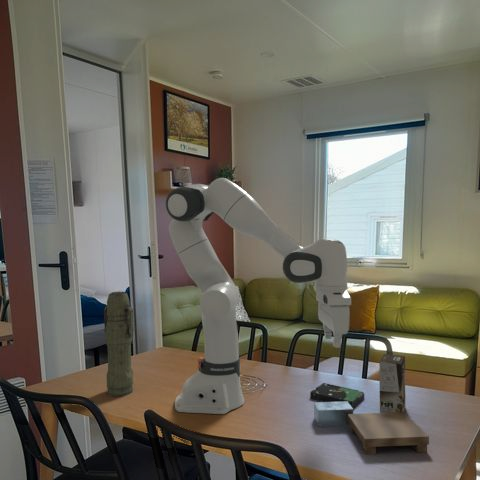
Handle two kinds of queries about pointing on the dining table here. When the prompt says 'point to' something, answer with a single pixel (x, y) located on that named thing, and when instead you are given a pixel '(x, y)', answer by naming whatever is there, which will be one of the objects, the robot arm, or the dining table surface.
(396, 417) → the stand
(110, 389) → the thermos
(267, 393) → the dining table surface
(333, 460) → the dining table surface
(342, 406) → the block
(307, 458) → the dining table surface
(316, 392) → the disk drive
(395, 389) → the coffee box
